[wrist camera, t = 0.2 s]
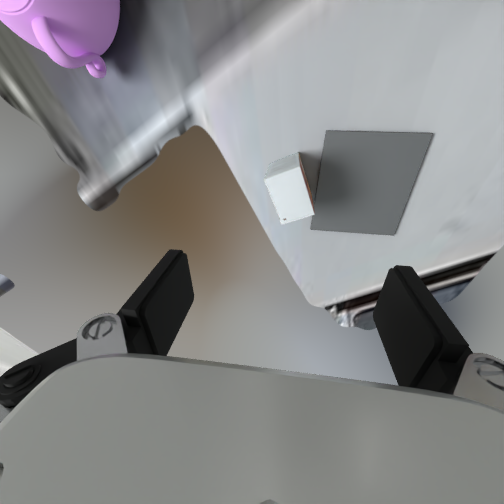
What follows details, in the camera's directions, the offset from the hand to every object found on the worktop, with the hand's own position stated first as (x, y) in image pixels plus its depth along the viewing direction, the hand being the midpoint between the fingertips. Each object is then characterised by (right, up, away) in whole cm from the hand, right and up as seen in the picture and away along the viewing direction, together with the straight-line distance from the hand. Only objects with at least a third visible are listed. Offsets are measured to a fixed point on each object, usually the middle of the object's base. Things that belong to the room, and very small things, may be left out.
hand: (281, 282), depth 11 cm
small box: (+6, +15, +33) cm, 37 cm away
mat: (+19, +13, +32) cm, 39 cm away
